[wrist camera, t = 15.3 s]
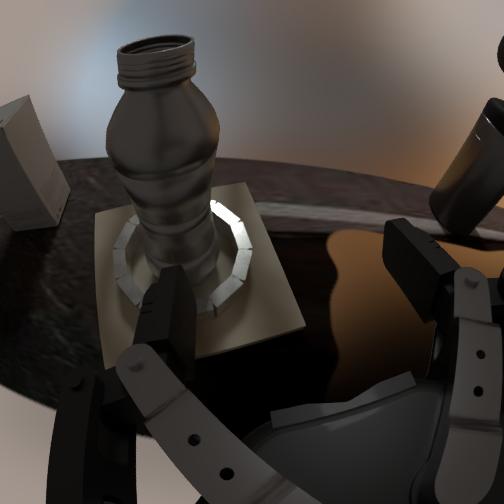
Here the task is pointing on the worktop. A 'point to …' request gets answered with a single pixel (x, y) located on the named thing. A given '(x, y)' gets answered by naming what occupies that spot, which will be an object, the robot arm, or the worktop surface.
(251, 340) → the birch board
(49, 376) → the worktop surface
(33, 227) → the skincare box
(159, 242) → the plastic bottle
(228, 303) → the steel collar
